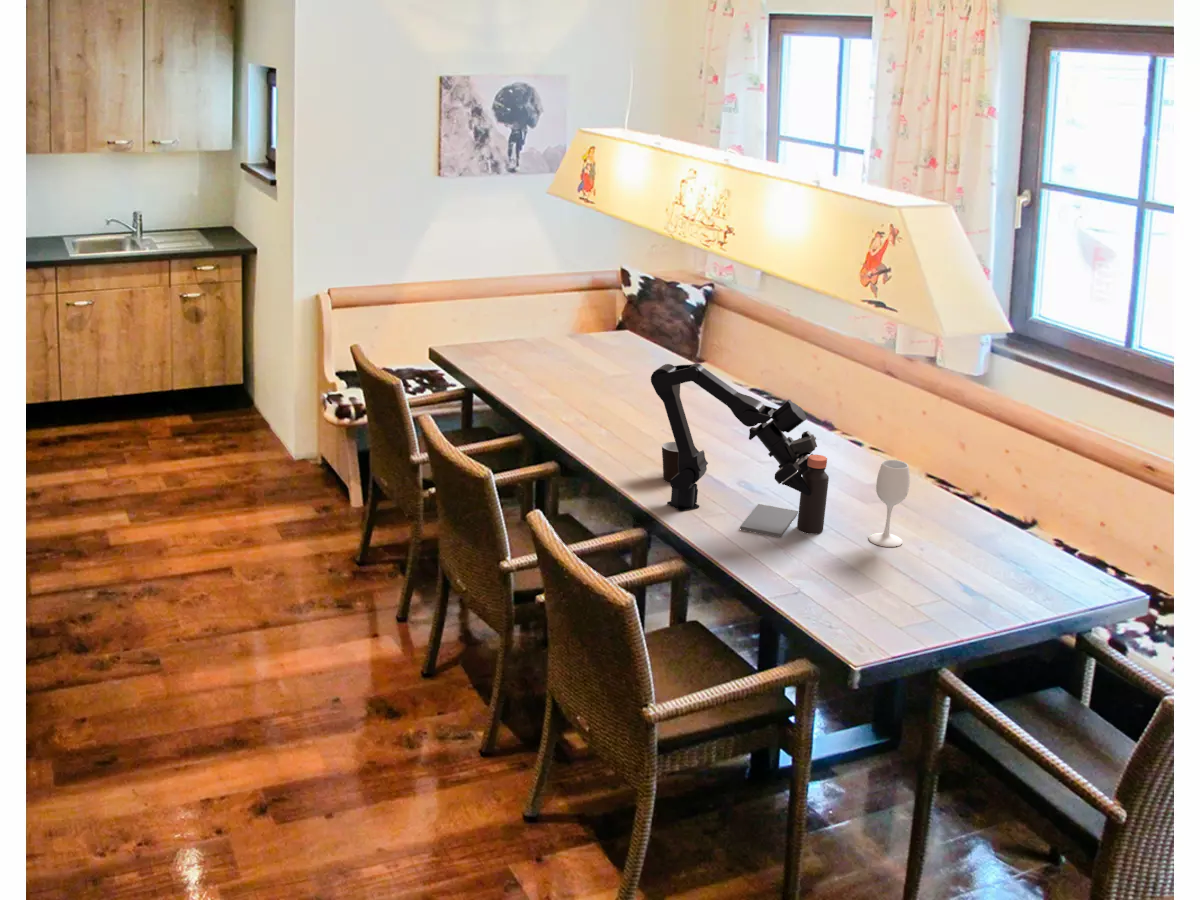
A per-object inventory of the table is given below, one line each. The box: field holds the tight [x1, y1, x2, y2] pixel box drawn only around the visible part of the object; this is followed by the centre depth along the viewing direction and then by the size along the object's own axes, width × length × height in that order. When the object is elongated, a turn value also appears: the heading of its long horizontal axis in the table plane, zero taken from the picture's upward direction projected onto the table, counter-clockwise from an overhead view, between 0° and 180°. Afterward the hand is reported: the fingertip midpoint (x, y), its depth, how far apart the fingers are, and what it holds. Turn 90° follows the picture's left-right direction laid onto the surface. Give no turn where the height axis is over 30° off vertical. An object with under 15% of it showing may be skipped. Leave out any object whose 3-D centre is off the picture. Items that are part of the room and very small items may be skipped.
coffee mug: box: [661, 441, 679, 484], centre depth 370 cm, size 12×9×10 cm
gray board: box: [739, 503, 799, 538], centre depth 343 cm, size 11×18×1 cm, turn 159°
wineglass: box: [868, 459, 911, 548], centre depth 332 cm, size 9×9×21 cm
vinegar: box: [796, 454, 830, 535], centre depth 337 cm, size 7×7×20 cm
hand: (814, 489), depth 336 cm, fingers open, 9 cm apart
